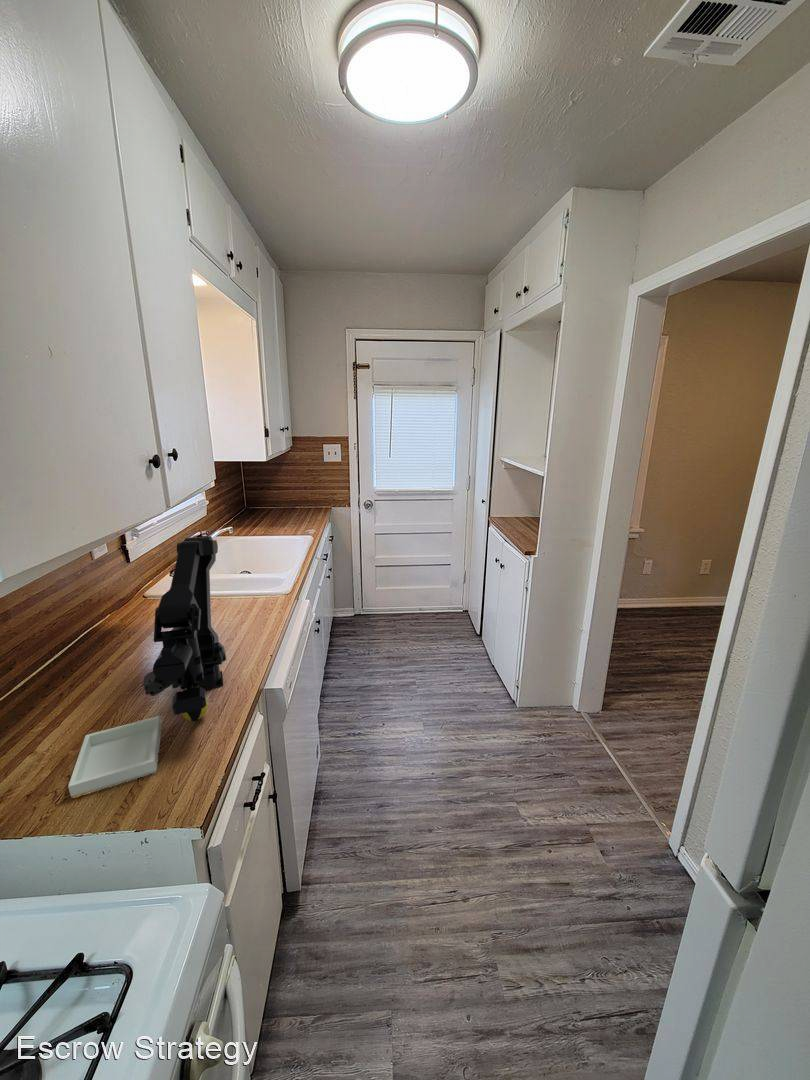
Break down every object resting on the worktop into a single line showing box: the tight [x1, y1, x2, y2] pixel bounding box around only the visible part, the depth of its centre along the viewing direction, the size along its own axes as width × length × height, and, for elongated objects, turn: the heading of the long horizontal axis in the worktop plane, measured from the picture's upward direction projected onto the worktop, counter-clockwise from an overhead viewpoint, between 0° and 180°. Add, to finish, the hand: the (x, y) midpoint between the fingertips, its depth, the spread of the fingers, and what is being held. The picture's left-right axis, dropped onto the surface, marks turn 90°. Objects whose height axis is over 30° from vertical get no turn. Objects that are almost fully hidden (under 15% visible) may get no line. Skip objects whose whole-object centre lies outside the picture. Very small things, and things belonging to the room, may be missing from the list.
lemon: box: [181, 697, 209, 722], centre depth 96 cm, size 6×6×8 cm
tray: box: [67, 715, 162, 798], centre depth 86 cm, size 14×14×3 cm
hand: (195, 712), depth 96 cm, fingers closed on lemon, 5 cm apart
